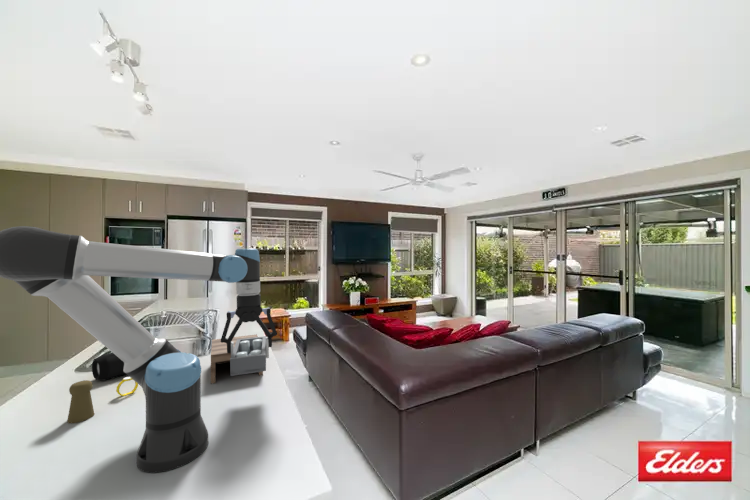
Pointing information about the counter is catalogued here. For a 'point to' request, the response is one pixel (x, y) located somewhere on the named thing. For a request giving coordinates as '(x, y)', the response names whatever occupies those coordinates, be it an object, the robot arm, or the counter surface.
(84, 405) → the cork
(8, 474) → the counter surface
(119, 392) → the watch
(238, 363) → the tray
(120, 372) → the portable speaker
